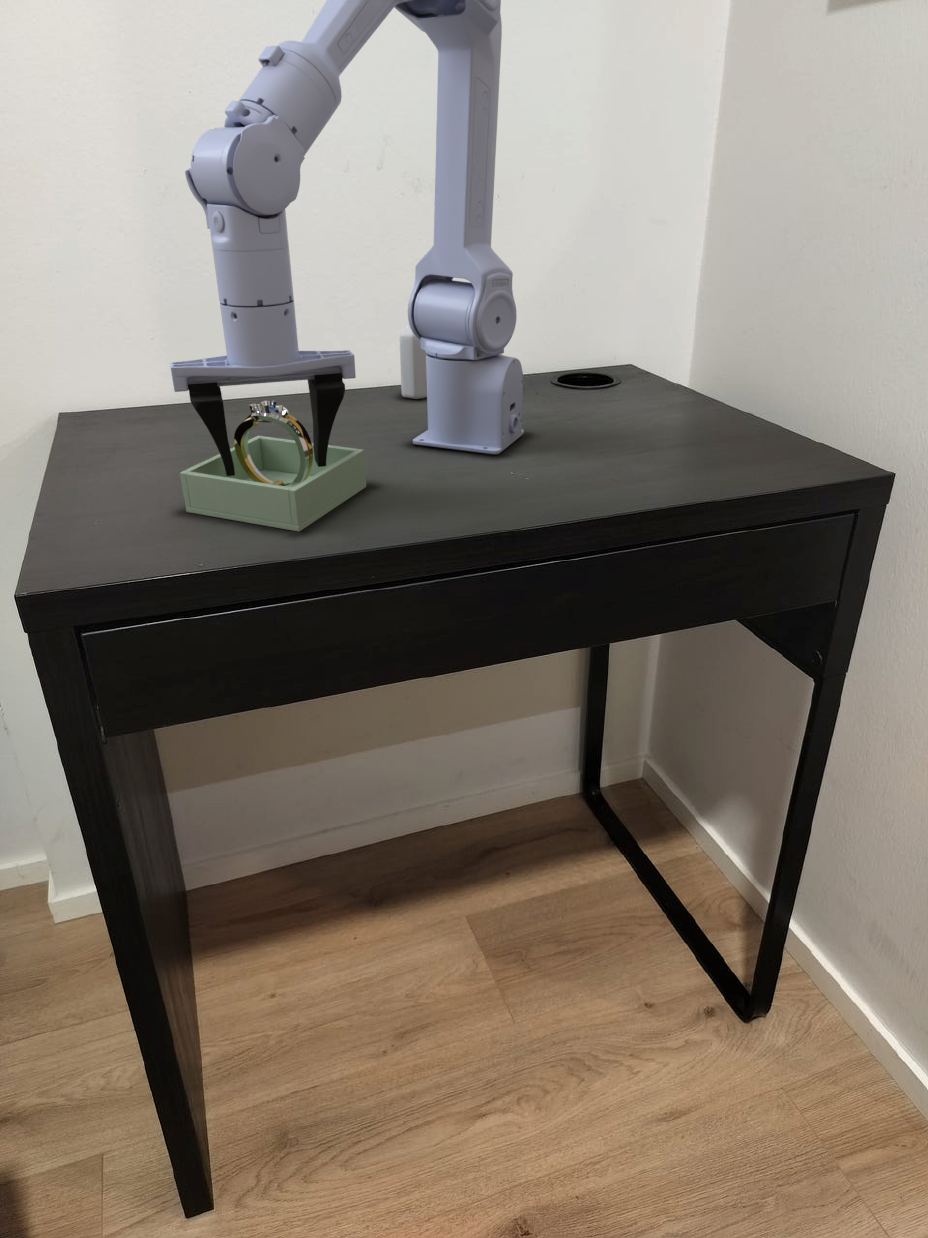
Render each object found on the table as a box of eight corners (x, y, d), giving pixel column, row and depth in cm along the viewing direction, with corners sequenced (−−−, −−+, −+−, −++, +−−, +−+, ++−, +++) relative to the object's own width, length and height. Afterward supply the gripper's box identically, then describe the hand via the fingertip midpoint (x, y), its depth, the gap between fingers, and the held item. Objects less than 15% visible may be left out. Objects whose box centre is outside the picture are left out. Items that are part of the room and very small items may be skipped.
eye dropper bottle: (392, 393, 109) (388, 290, 103) (433, 387, 111) (430, 286, 105) (408, 401, 105) (404, 295, 100) (449, 395, 108) (448, 291, 102)
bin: (366, 486, 80) (364, 449, 78) (299, 532, 71) (294, 490, 69) (262, 471, 84) (258, 435, 82) (186, 512, 74) (179, 472, 73)
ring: (234, 493, 77) (222, 402, 73) (257, 482, 79) (246, 393, 76) (300, 506, 74) (291, 411, 70) (322, 493, 77) (314, 402, 73)
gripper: (340, 289, 74) (350, 445, 81) (160, 298, 71) (187, 461, 77) (355, 302, 68) (366, 469, 75) (160, 312, 65) (189, 488, 71)
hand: (275, 467), depth 76 cm, fingers open, 7 cm apart
